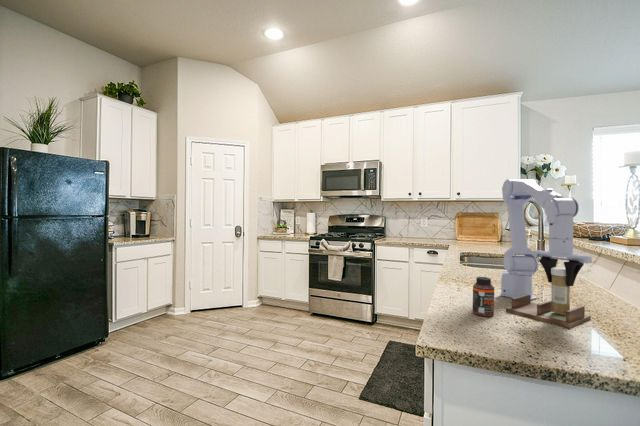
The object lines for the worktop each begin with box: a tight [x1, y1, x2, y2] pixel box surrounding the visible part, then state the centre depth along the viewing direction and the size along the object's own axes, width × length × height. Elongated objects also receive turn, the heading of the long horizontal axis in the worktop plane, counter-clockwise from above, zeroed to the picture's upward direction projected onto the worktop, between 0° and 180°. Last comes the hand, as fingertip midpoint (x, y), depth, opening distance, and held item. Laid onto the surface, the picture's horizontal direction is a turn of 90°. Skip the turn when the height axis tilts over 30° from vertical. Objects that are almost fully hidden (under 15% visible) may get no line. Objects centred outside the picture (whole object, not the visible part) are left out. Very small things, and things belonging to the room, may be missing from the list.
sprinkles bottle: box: [550, 266, 571, 315], centre depth 93 cm, size 5×5×13 cm
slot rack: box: [505, 294, 592, 329], centre depth 96 cm, size 17×14×4 cm
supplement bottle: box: [472, 276, 495, 318], centre depth 96 cm, size 6×6×11 cm
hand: (560, 284), depth 92 cm, fingers closed on sprinkles bottle, 4 cm apart
